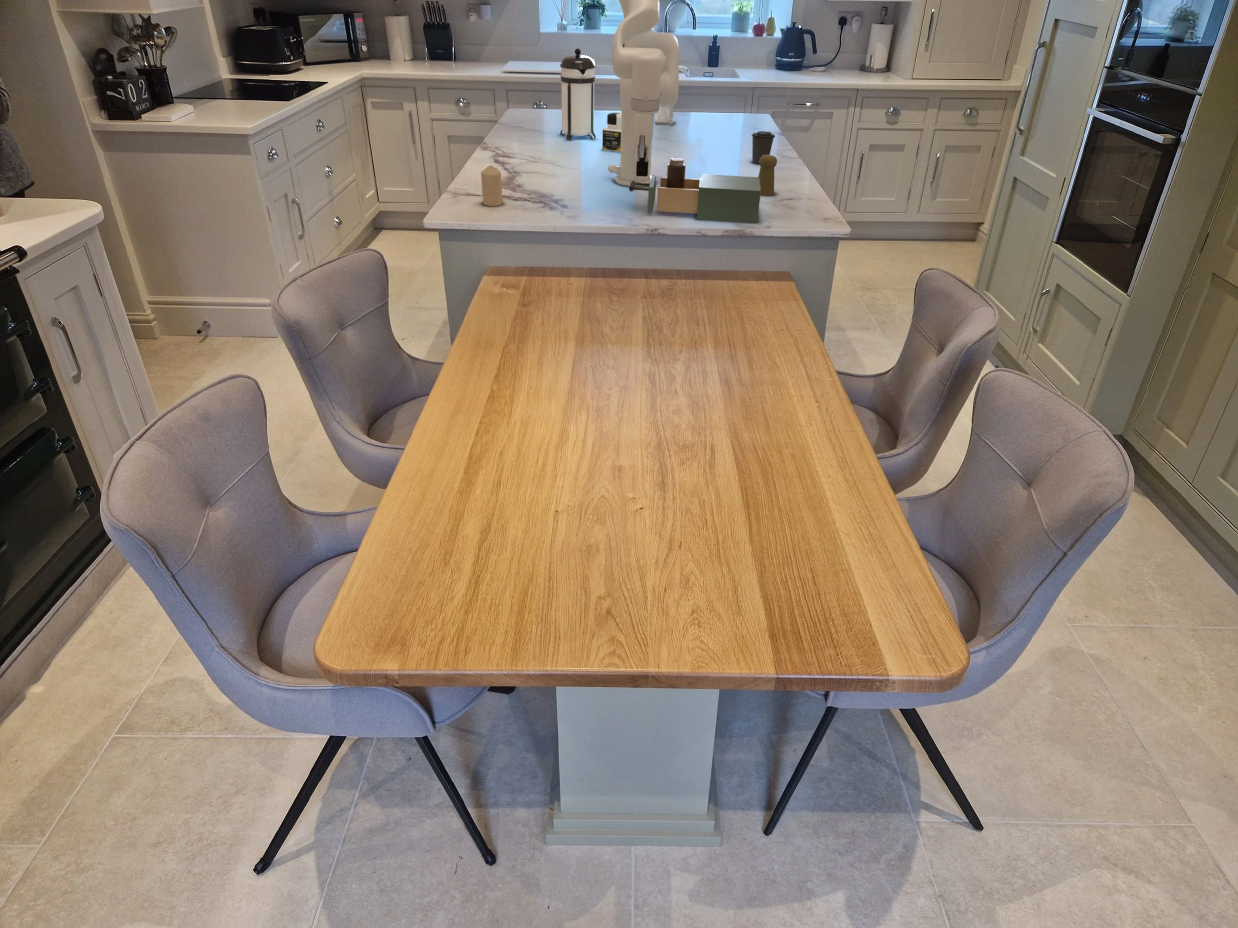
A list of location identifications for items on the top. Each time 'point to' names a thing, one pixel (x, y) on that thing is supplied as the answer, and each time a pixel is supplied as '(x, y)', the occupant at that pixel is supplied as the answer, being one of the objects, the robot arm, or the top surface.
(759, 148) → the coffee cup
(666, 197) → the drawer
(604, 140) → the medicine bottle
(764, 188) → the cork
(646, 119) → the robot arm
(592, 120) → the coffee press
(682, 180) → the pepper mill
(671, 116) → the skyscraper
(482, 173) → the candle
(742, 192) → the cabinet
